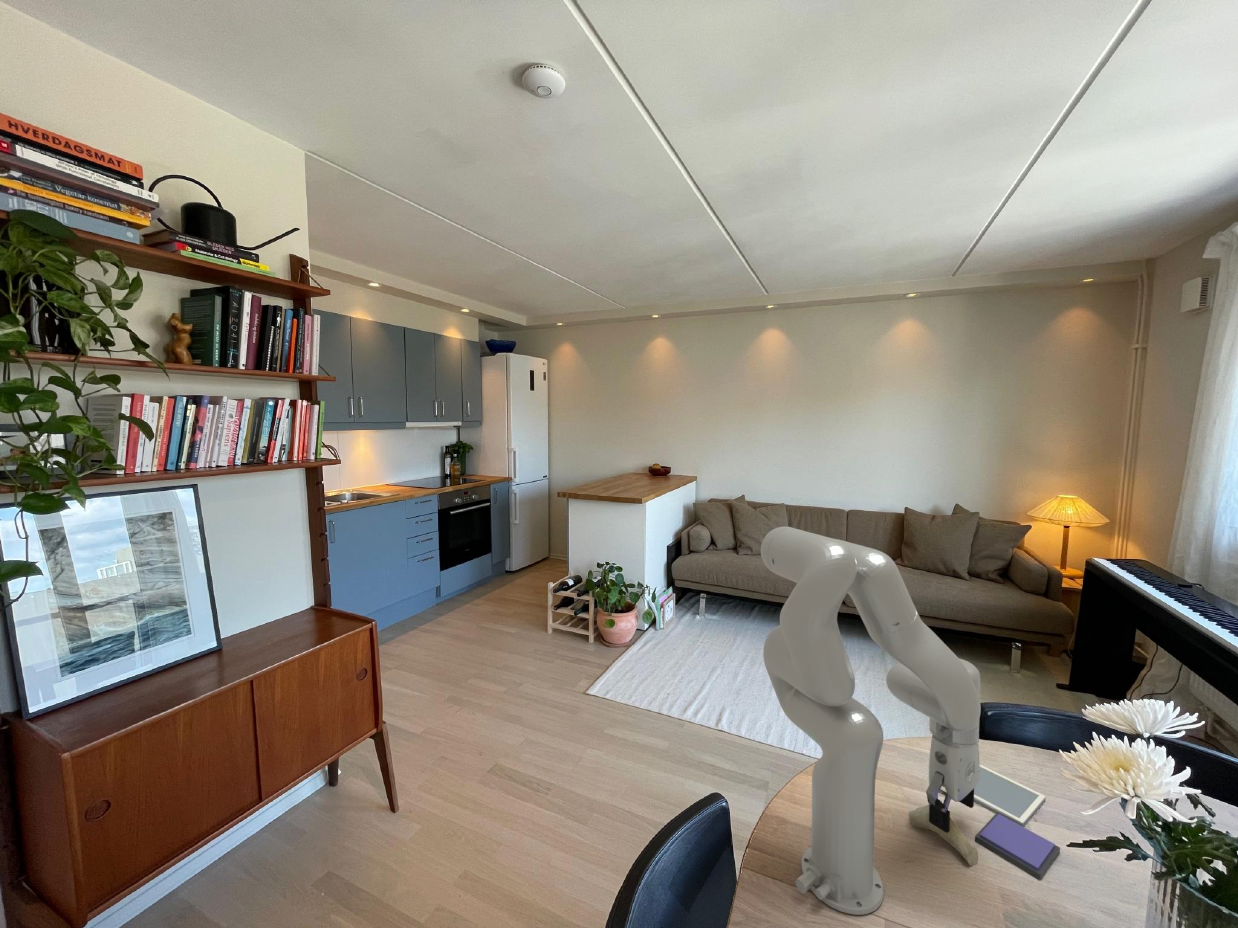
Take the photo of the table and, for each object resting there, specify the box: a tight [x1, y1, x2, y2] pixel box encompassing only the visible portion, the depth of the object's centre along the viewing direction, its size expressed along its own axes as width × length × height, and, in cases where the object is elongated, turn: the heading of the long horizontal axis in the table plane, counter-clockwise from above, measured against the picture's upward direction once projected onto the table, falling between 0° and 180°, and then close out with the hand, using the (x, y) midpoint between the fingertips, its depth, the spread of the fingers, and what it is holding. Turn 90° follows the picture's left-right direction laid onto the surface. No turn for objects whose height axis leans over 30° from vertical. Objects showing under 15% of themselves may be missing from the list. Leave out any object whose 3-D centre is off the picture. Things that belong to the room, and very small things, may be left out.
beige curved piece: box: [907, 804, 979, 867], centre depth 91 cm, size 11×6×5 cm, turn 28°
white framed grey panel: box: [974, 764, 1046, 828], centre depth 101 cm, size 12×12×1 cm
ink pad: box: [974, 813, 1061, 881], centre depth 89 cm, size 10×10×2 cm
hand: (951, 814), depth 91 cm, fingers open, 9 cm apart
